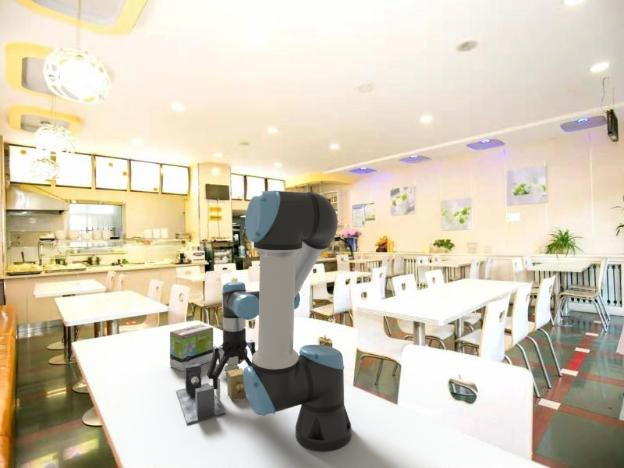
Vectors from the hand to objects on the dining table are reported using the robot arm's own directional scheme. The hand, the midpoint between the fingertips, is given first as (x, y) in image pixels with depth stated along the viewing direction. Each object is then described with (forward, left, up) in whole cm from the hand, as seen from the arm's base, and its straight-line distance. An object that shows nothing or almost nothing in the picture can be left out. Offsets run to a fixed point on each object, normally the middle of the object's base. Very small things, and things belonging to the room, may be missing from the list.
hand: (234, 394), depth 116 cm
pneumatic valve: (+20, -5, -1) cm, 20 cm away
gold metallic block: (0, -1, -1) cm, 1 cm away
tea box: (+39, +7, -1) cm, 40 cm away
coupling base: (+2, +11, -1) cm, 12 cm away
